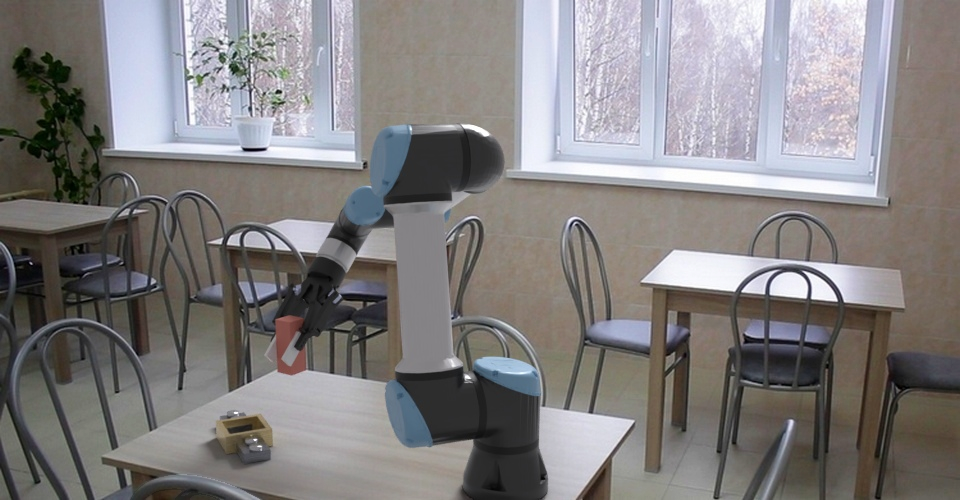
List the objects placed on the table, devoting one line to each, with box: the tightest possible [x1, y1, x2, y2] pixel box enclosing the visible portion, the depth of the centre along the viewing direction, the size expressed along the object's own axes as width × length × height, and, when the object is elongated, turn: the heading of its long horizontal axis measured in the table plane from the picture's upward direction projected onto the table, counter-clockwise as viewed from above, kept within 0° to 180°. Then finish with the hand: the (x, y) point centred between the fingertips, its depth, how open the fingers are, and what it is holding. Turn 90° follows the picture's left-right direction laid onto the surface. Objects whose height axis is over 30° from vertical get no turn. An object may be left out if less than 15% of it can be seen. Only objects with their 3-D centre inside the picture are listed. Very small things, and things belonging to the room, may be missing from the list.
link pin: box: [275, 315, 307, 376], centre depth 198 cm, size 4×4×11 cm
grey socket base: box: [215, 409, 274, 465], centre depth 193 cm, size 21×9×4 cm, turn 27°
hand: (277, 360), depth 195 cm, fingers closed on link pin, 4 cm apart
